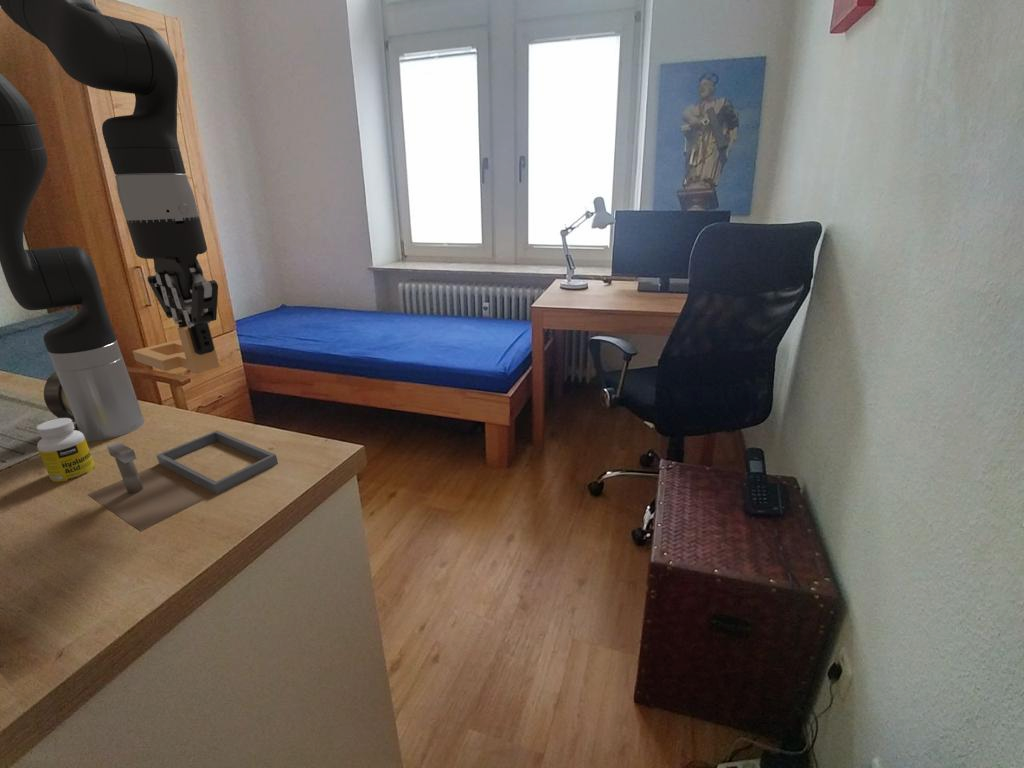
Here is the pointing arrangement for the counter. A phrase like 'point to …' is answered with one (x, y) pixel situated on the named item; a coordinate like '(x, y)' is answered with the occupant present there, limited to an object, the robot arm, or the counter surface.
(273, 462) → the tray
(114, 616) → the counter surface
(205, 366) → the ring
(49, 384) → the alarm clock
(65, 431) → the supplement bottle
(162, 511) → the board
